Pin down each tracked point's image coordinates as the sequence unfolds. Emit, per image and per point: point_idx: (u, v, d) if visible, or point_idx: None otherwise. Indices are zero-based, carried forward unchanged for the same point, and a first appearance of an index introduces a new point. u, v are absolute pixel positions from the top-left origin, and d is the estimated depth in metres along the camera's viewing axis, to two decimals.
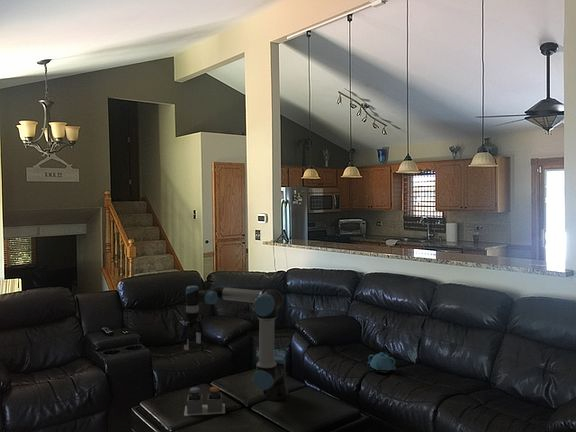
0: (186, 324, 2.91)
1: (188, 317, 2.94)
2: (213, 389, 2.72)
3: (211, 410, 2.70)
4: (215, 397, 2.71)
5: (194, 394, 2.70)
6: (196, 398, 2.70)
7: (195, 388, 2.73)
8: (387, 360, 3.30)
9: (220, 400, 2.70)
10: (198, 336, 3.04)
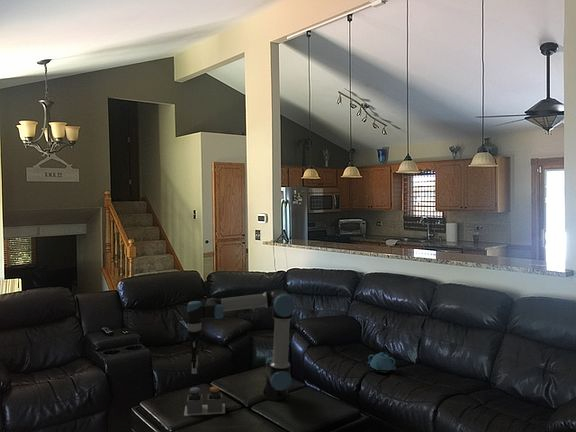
0: (194, 346, 2.64)
1: (193, 336, 2.66)
2: (213, 389, 2.72)
3: (211, 410, 2.70)
4: (215, 397, 2.71)
5: (194, 394, 2.70)
6: (196, 398, 2.70)
7: (195, 388, 2.73)
8: (387, 360, 3.30)
9: (220, 400, 2.70)
10: None
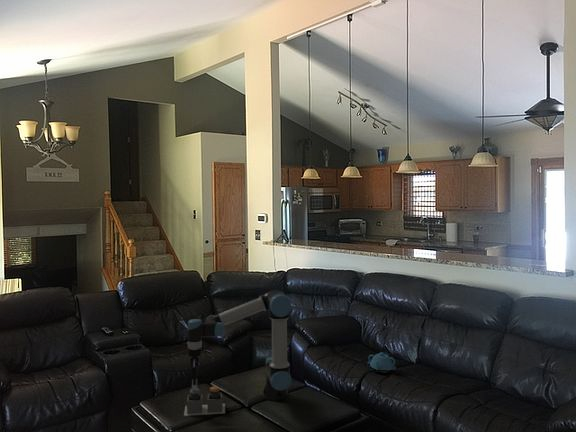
0: (194, 366, 2.65)
1: (193, 354, 2.67)
2: (213, 389, 2.72)
3: (211, 410, 2.70)
4: (215, 397, 2.71)
5: (194, 395, 2.70)
6: (196, 399, 2.70)
7: None
8: (387, 360, 3.30)
9: (220, 400, 2.70)
10: None
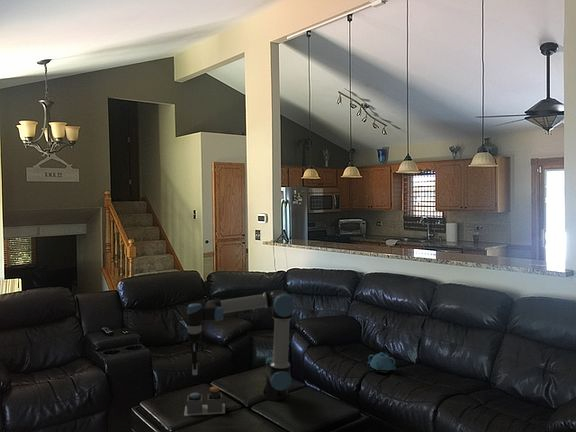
0: (194, 350, 2.65)
1: (193, 339, 2.66)
2: (213, 389, 2.72)
3: (211, 410, 2.70)
4: (215, 397, 2.71)
5: (194, 399, 2.70)
6: None
7: (195, 393, 2.73)
8: (387, 360, 3.30)
9: (220, 400, 2.70)
10: None
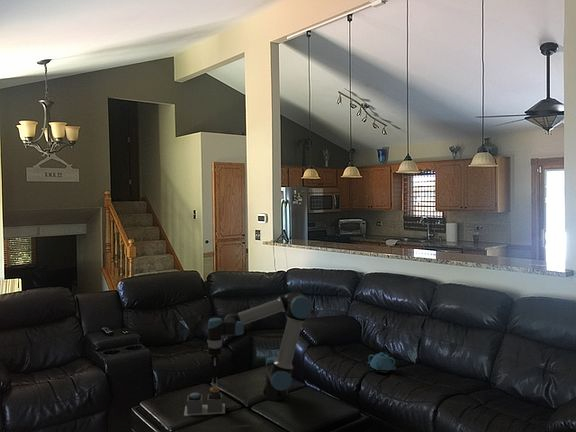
0: (215, 365, 2.67)
1: (214, 353, 2.68)
2: (213, 389, 2.72)
3: (211, 410, 2.70)
4: (215, 397, 2.71)
5: (194, 399, 2.70)
6: None
7: (195, 393, 2.73)
8: (387, 360, 3.30)
9: (220, 400, 2.70)
10: None
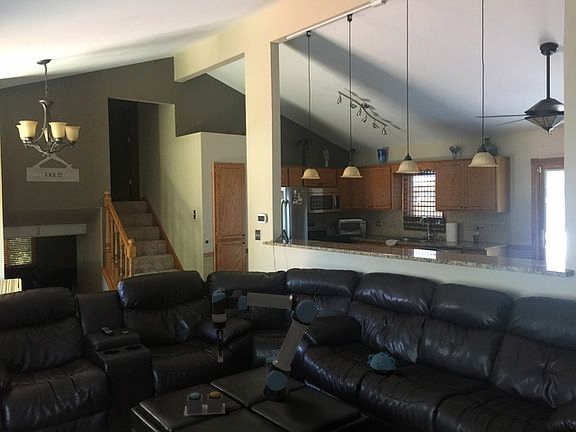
0: (220, 338, 2.71)
1: (219, 327, 2.73)
2: (213, 394, 2.72)
3: (211, 410, 2.70)
4: None
5: (194, 399, 2.70)
6: None
7: (195, 393, 2.73)
8: (387, 360, 3.30)
9: (220, 400, 2.70)
10: None
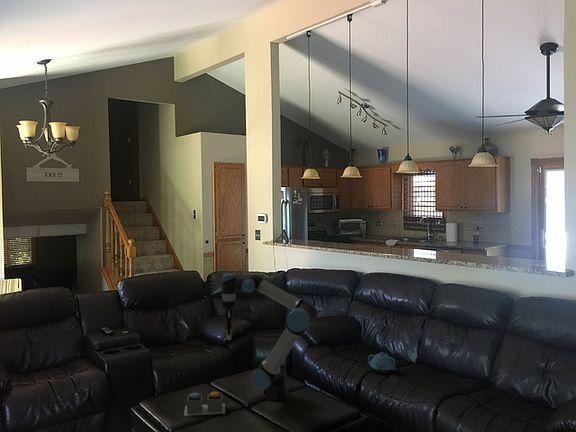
0: (229, 316, 2.84)
1: (228, 306, 2.86)
2: (213, 394, 2.72)
3: (211, 410, 2.70)
4: None
5: (194, 399, 2.70)
6: None
7: (195, 393, 2.73)
8: (387, 360, 3.30)
9: (220, 400, 2.70)
10: None
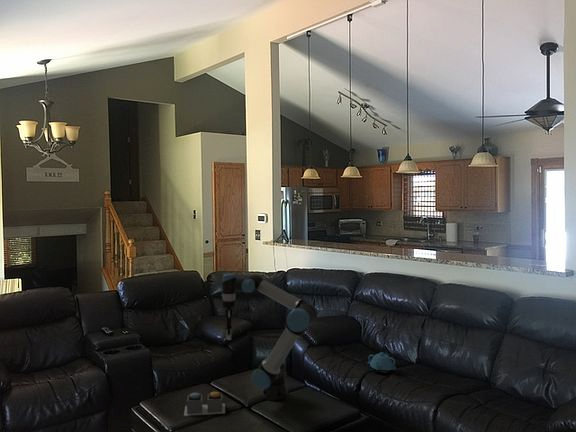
0: (229, 316, 2.84)
1: (228, 306, 2.86)
2: (213, 394, 2.72)
3: (211, 410, 2.70)
4: None
5: (194, 399, 2.70)
6: None
7: (195, 393, 2.73)
8: (387, 360, 3.30)
9: (220, 400, 2.70)
10: None
